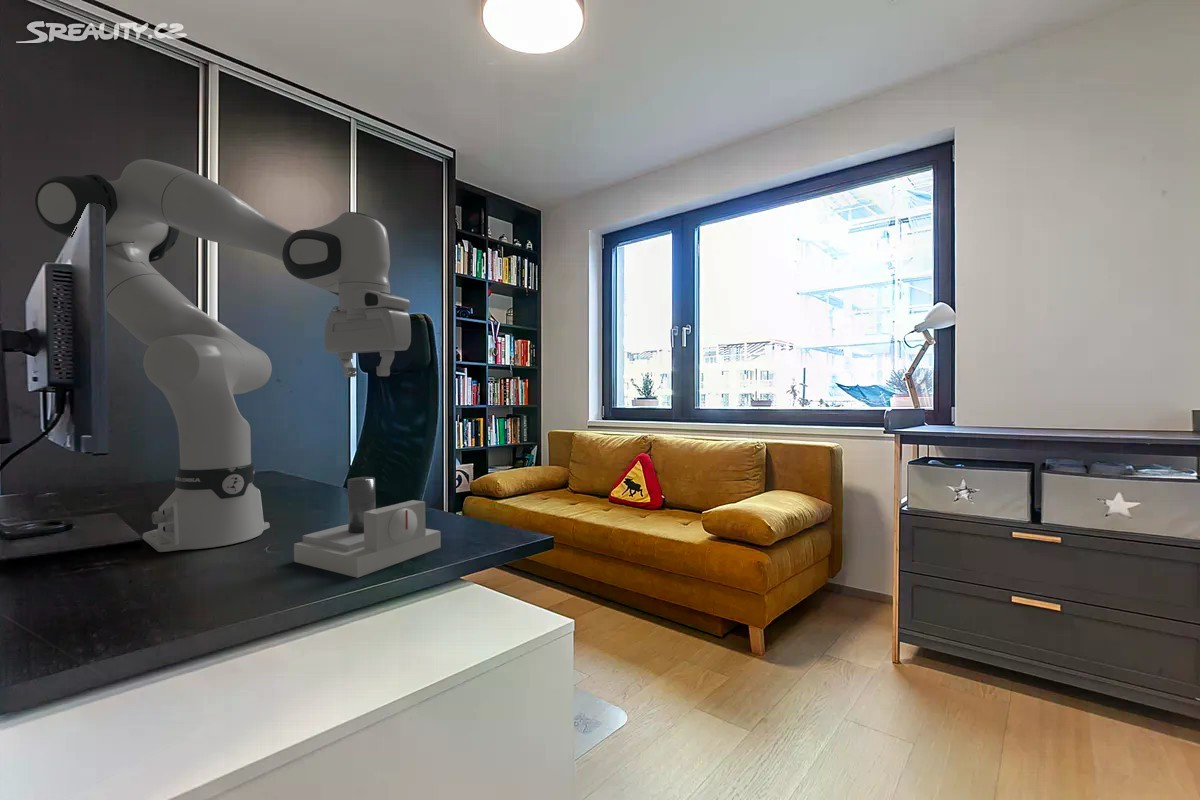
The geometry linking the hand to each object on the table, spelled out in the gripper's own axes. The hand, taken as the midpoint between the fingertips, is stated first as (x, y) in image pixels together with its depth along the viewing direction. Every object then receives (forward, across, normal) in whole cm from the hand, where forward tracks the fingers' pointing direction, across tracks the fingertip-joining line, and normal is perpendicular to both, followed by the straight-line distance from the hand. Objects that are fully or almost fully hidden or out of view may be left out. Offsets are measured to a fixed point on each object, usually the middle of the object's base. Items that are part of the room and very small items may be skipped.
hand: (366, 376), depth 97 cm
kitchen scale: (+31, +7, -5) cm, 32 cm away
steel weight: (+27, +5, -5) cm, 28 cm away
